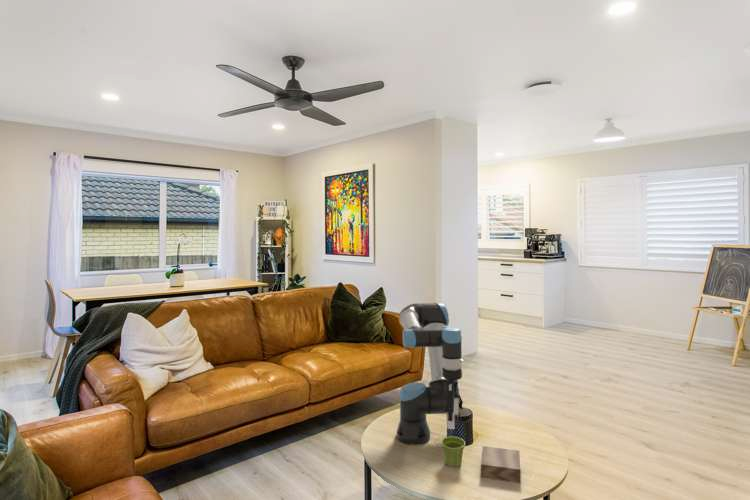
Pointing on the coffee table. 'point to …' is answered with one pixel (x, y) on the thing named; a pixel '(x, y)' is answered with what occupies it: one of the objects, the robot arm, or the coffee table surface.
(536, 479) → the coffee table surface
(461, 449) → the plant pot
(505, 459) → the block
